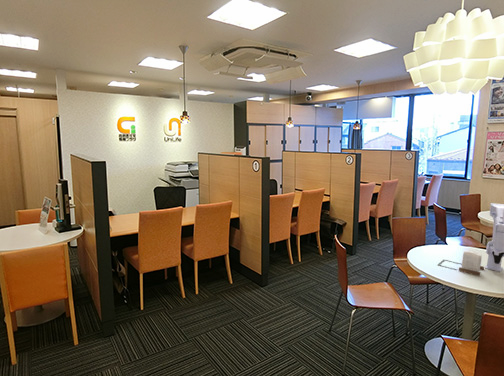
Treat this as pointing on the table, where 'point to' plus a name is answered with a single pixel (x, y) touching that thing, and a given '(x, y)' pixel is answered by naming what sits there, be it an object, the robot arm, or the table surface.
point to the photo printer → (471, 261)
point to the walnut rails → (471, 270)
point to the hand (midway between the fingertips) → (496, 263)
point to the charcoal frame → (445, 266)
